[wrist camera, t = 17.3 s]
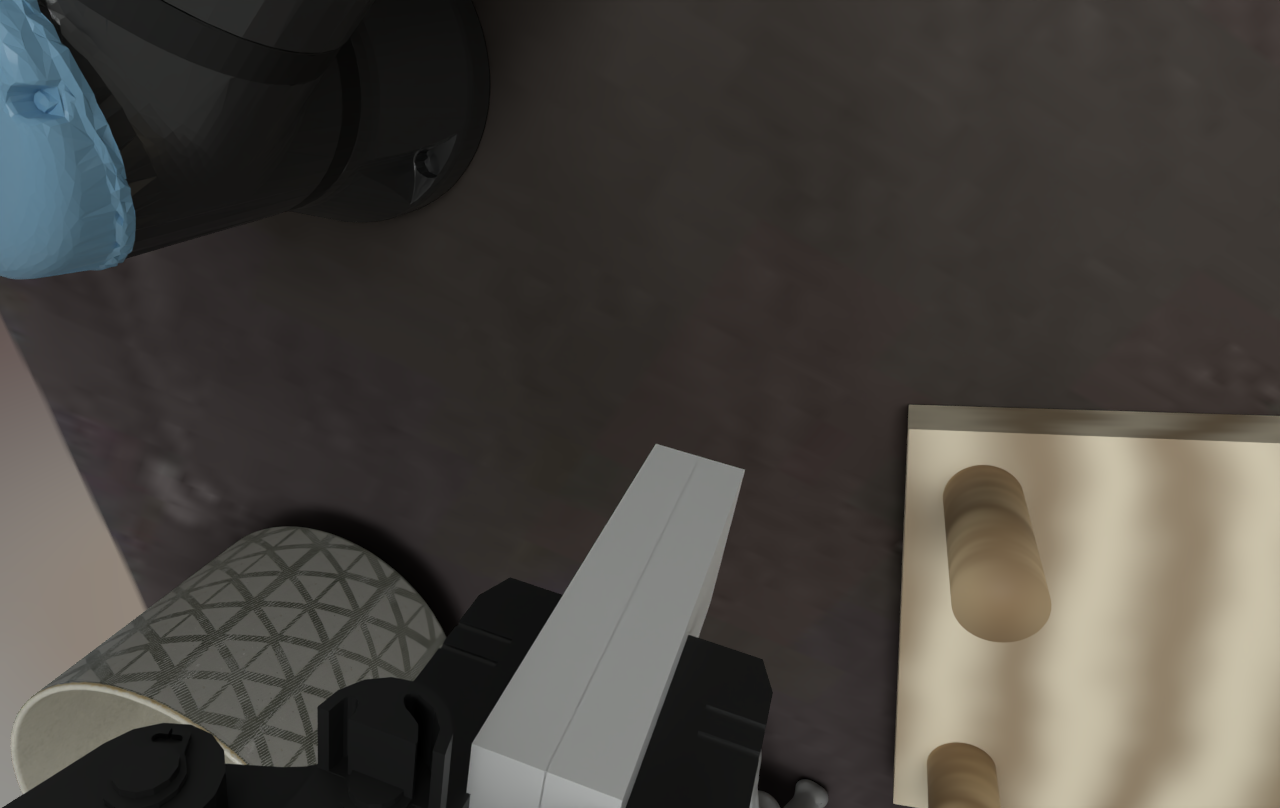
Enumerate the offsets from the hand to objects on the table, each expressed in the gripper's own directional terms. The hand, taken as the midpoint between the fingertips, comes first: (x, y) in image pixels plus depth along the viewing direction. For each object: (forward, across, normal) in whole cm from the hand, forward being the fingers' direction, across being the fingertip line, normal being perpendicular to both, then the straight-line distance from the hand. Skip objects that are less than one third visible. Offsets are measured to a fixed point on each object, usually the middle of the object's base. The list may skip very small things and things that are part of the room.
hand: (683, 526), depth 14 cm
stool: (+29, +21, -17) cm, 40 cm away
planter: (+30, -25, -36) cm, 52 cm away
